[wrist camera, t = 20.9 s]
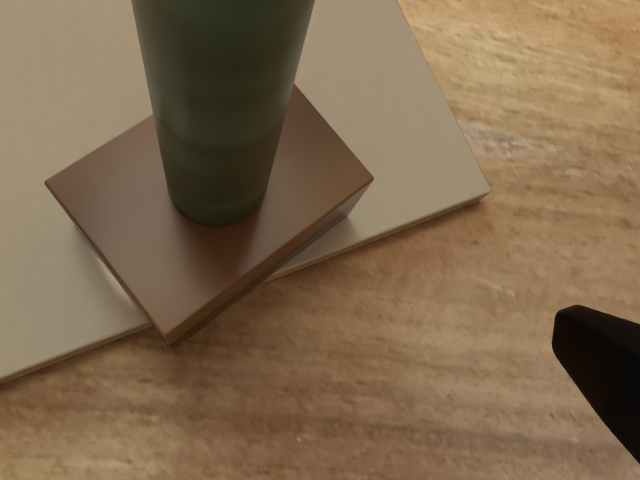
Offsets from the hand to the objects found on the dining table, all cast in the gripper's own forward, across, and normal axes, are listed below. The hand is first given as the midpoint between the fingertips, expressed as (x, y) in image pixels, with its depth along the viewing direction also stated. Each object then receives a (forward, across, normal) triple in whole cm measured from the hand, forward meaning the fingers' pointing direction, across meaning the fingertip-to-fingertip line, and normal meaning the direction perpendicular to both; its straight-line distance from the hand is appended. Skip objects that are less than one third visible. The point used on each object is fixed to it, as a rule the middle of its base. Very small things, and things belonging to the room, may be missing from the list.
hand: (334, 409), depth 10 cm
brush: (+10, 0, +1) cm, 10 cm away
